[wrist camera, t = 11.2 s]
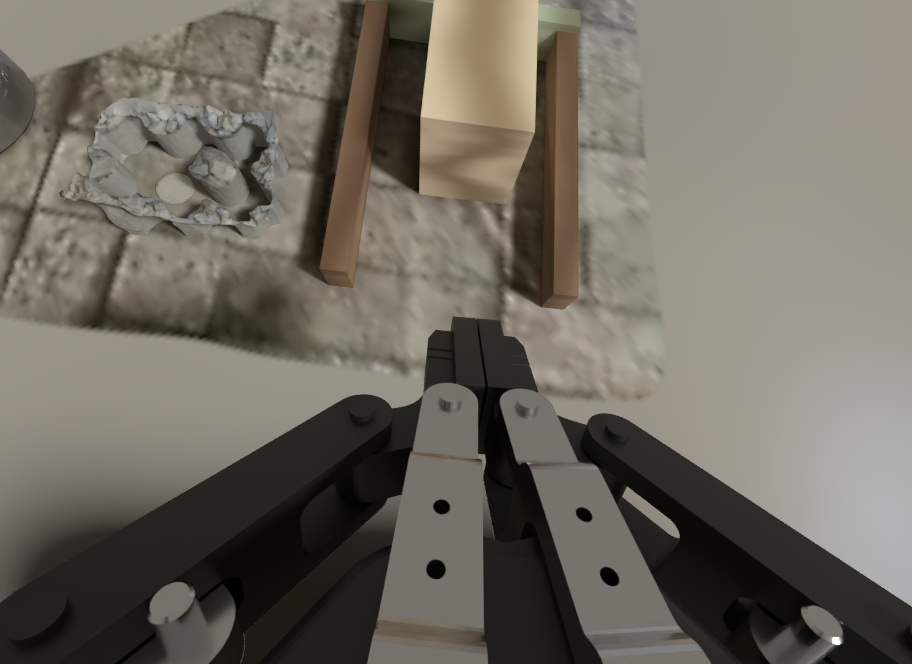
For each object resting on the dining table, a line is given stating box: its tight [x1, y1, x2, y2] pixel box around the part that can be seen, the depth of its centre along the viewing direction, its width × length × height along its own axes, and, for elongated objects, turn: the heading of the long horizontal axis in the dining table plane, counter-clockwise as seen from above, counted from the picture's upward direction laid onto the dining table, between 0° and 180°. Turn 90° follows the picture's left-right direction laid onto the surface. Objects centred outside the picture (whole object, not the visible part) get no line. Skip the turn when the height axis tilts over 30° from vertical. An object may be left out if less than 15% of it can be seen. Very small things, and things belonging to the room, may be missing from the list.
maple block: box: [419, 0, 538, 204], centre depth 26 cm, size 6×12×7 cm, turn 176°
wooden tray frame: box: [320, 0, 580, 309], centre depth 27 cm, size 15×22×3 cm
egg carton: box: [59, 98, 288, 239], centre depth 24 cm, size 11×8×4 cm
